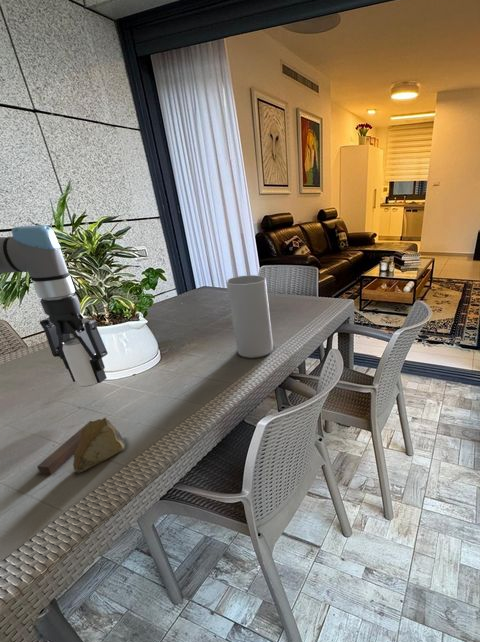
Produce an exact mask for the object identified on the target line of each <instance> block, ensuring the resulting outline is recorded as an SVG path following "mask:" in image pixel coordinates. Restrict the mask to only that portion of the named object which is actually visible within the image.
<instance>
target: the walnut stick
mask: <svg viewBox="0 0 480 642" xmlns="http://www.w3.org/2000/svg"><path fill="white" fill-rule="evenodd" d="M93 421H94V420H90V421H88V422H87V423H86V424H84V425H83V426H82V427H81V428H80V429H79V430H78V431H77V432H75V433H74V434H73V435H72V436H70V437H69V439H67V440H66V441H65V442H64V443H63V444H61V445H60V446H59V447H58V448H57V449H55V450H54V451H53V452H52V453H51V454H49V456H47V457H46V458H45V459H43V461H42V462H40V463H39V464H38V465H37V466H36V468H37V469H38V471H39V473H40V474H42V475H53V474H54V473H55V472H56V471H57V470H58V469H59V468H60V467H61V466H62V465H63V464H64V463H66V462H67V461H68V460H69V459H70V458H71V457H72V456H74V453H75V450H76V449H77V448H78V444H79V440H80V438H81V431H82V429H84V428H86V427H87V426H88V425H90V424H91V423H92V422H93Z"/></svg>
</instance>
